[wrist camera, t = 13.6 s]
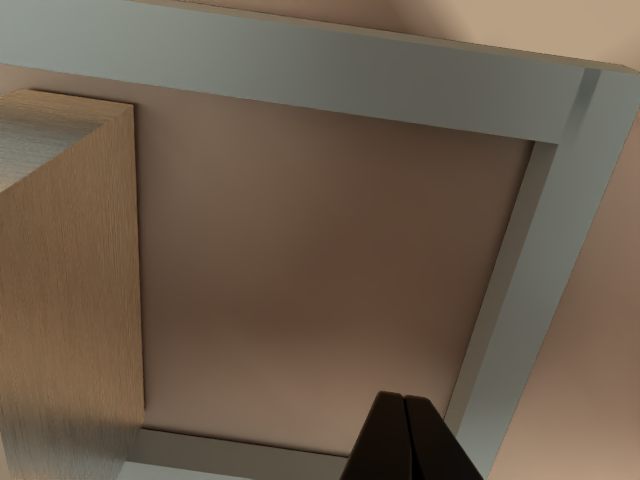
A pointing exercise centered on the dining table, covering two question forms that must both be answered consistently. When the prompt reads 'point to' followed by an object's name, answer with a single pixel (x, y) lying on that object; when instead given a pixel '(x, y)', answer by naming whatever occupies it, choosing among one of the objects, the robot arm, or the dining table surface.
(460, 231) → the dining table surface
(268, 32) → the vise
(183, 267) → the dining table surface
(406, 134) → the dining table surface
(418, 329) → the dining table surface
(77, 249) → the block
